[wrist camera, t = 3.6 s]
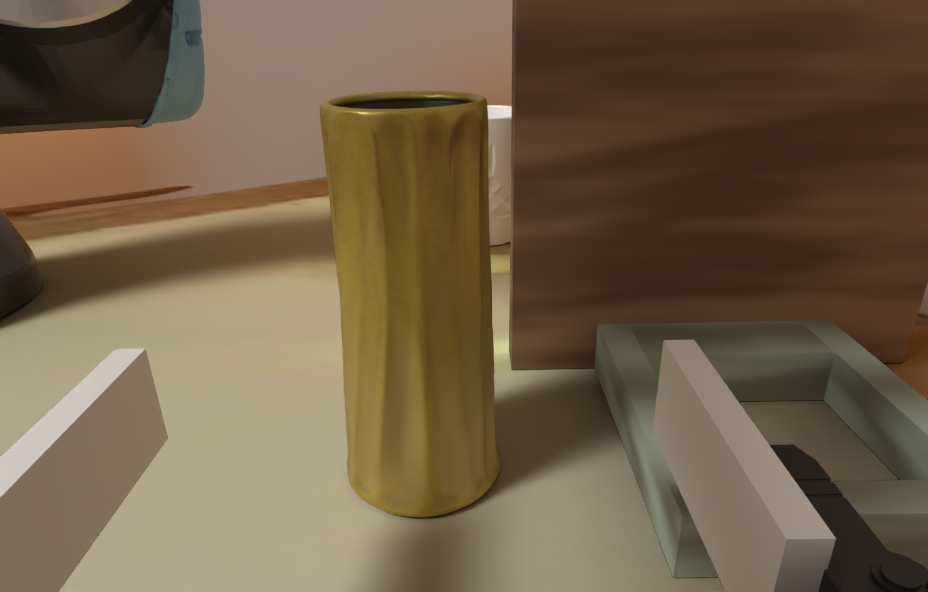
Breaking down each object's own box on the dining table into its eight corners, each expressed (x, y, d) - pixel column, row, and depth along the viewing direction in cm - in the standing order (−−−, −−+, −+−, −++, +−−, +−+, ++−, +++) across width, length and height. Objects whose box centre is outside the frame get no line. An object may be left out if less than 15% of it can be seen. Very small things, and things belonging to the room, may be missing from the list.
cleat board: (1169, 570, 20) (1792, -506, 10) (540, 579, 20) (581, -473, 11) (879, 344, 34) (1031, -205, 24) (509, 351, 34) (514, -192, 25)
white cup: (443, 253, 49) (438, 121, 45) (429, 224, 56) (423, 107, 52) (540, 245, 50) (544, 115, 46) (515, 217, 57) (516, 103, 53)
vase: (379, 414, 29) (350, 88, 23) (511, 430, 28) (515, 89, 22) (322, 507, 23) (266, 110, 18) (483, 532, 22) (480, 113, 16)
